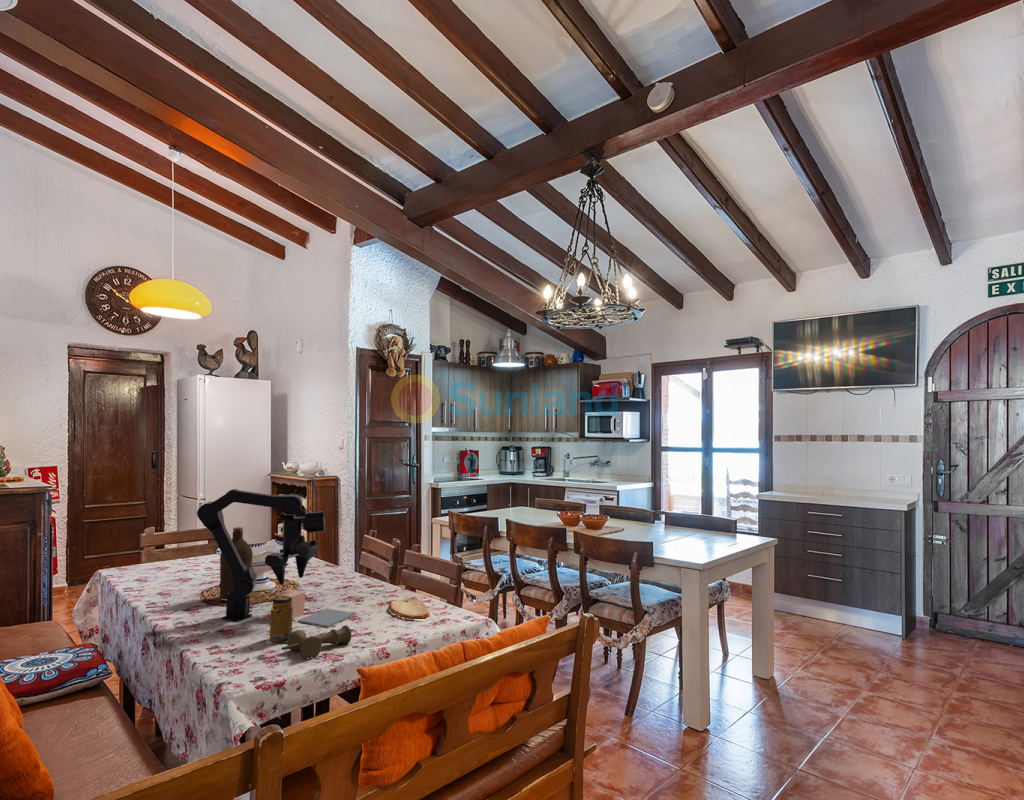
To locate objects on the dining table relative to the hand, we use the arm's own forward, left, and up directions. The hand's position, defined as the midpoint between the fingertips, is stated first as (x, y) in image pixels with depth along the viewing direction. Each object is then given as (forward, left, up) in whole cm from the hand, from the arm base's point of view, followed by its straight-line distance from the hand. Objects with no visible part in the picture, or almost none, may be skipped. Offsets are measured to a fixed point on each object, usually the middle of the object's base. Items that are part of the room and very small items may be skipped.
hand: (291, 580), depth 193 cm
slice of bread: (+21, -33, -12) cm, 41 cm away
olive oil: (+7, +31, -11) cm, 34 cm away
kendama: (-21, -28, -12) cm, 37 cm away
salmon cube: (0, 0, -11) cm, 11 cm away
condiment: (-18, -14, -11) cm, 26 cm away
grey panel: (+3, -13, -11) cm, 17 cm away
